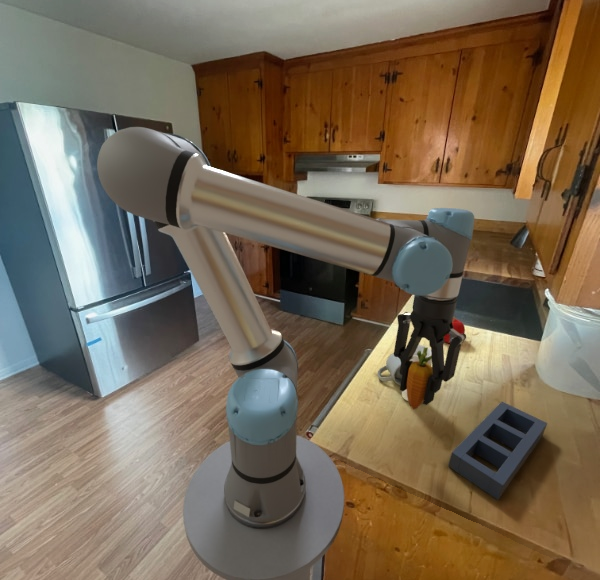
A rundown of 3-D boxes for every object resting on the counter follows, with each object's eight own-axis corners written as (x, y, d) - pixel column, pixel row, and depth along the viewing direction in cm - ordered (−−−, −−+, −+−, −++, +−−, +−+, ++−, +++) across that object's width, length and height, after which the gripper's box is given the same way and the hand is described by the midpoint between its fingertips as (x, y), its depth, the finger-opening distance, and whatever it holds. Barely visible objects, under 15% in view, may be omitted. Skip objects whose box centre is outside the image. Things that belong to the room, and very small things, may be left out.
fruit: (467, 345, 119) (473, 320, 115) (446, 348, 117) (451, 322, 113) (450, 333, 127) (455, 309, 123) (430, 336, 125) (435, 312, 121)
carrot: (410, 398, 75) (421, 341, 70) (429, 410, 72) (443, 350, 66) (397, 407, 73) (407, 347, 67) (416, 419, 69) (429, 358, 63)
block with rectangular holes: (448, 466, 70) (451, 452, 69) (498, 413, 86) (501, 401, 84) (497, 500, 63) (503, 485, 62) (542, 436, 79) (547, 423, 77)
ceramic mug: (405, 369, 104) (408, 348, 101) (417, 385, 96) (420, 362, 93) (373, 371, 103) (375, 350, 100) (382, 387, 95) (385, 365, 92)
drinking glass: (409, 387, 96) (417, 341, 90) (429, 399, 90) (438, 352, 85) (393, 395, 92) (400, 348, 86) (413, 408, 87) (422, 360, 81)
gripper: (494, 304, 58) (465, 410, 67) (406, 278, 70) (391, 370, 79) (475, 314, 53) (447, 426, 62) (384, 284, 66) (371, 381, 75)
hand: (416, 394), depth 71 cm, fingers closed on carrot, 5 cm apart
